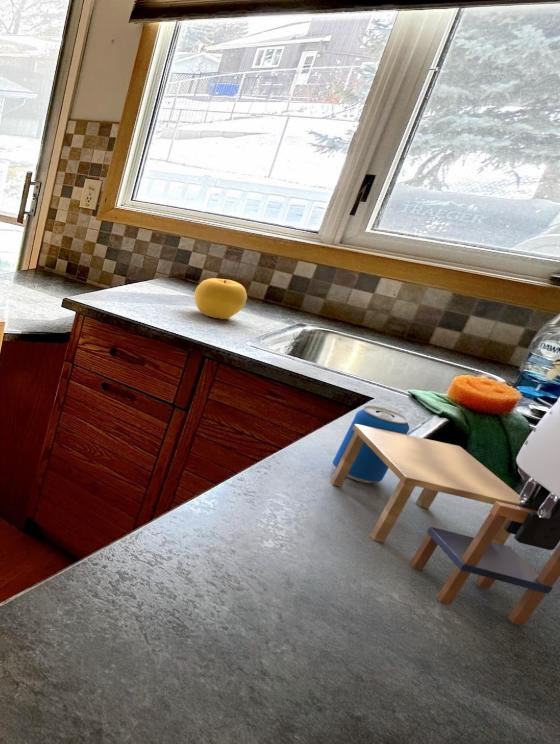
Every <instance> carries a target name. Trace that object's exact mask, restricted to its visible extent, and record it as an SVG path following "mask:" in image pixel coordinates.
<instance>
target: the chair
mask: <svg viewBox="0 0 560 744" xmlns="http://www.w3.org/2000/svg"><path fill="white" fill-rule="evenodd" d="M530 512H535V513H537V512H538V511H536V510H531V509H527V508H523V507H519V506H514V505H510V504H506V503H502V502H497V501H496V502H495V504H494V505H493V504H492V507H490V510H489V514H488V515H487V517H486V518H485V520H484V522H483V523H482V525H481V527H480V528H479V530H478V531H477V533H476V534H475V536H474V537H473V536H471V535H466V534H462V533H457V532H454V531H450V530H446V529H442V528H438V527H434V526H429V527H428V529H427V530H426V535H425V537H424V539H423V540H422V542H421V544H420V545H419V546H418V549H417V550H416V552H415V554H414V555H413V557H412V559H411V560H410V562H409V565H410V566H411V567H412V568H413V569H416V570H419V571H423V570H424V569H425V567H426V565H427V564H428V562H429V560H430V558H431V557H432V555H433V553H434V552H435V550H436V548H437V547H439V548H440V550H442V551H443V553H444V554H445V555H446V556H447V557H448V558H449V559H450V561H452V563H453V564H454V565H455V567H454V568H453V570H452V572H451V573H450V575H449V576H448V578H447V579H446V581H445V583H443V586H442V587H441V589H440V591H439V592H438V593H437V595H436V599H437V600H438V601H439V603H441V604H445V605H448V606H450V605H452V603H453V602H454V600H455V599H456V597H457V595H458V594H459V592H460V590H461V589H462V587H463V586H464V585H465V583H466V581H467V580H468V578H469V576H470V575H471V574H473V575H477V578H476V579H475V583H476V584H477V585H478V586H479V587H480V588H485V589H488V590H490V588H491V587H492V585H493V584H494V582H495V580H496V581H499V582H502V583H507V584H510V585H514V586H517V587H522V588H525V589H526V590H525V591H524V594H523V595H522V596H521V598H520V599H519V601H518V602H517V603H516V604H515V606H514V608H513V610H511V612H510V614H509V615H508V616H507V619H508V620H509V621H510V622H511V623H512V624H514V625H518V626H522V627H524V626H525V624H526V623H527V621H529V620H530V617H531V616H532V614H533V613H534V612H535V610H536V609H537V608H538V606H539V605H540V604H541V602H542V601H543V599H544V598H545V596H546V595H548V594H550V592H551V591H552V590H553V588H554V585H555V584H556V582H557V581H558V579H559V578H560V543H558V545H557V546H556V548H555V550H554V552H553V553H552V555H551V556H550V558H549V559H548V560H547V562H546V563H545V565H544V566H543V567H542V569H541V571H540V572H539V573H538V572H537V571H536V570H535V569H534V568H533V567H532V566H531V565H530V564H529V563H528V562H526V560H524V559H523V557H521V556H520V555H519V554H518V553H517V552H516V551H515V550H514V549H513V548H512V547H511V546H510V545H506V544H504V545H502V544H498V543H494V542H492V541H493V539H494V538H495V536H496V534H497V533H498V531H499V530H500V528H501V527H502V525H503V524H504V522H505V520H506V519H507V520H511V521H515V522H520V523H524V521H525V520H526V518H527V517H528V515H529V514H530Z"/></svg>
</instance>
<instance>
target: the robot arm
mask: <svg viewBox="0 0 560 744" xmlns="http://www.w3.org/2000/svg"><path fill="white" fill-rule="evenodd" d="M515 462H516V465H517V466H518V468H517V472H518V473H519V475H520V476H521V478H522V480H523V489H522V491H521V492H520V494H519V495H520V496H519V499H520V501H521V502H524V503H520V504H519V505H518V506H519V507H523V508H527V509H531V510H536V511H538V512H537V513H535V512H530V514H529V515H528V517H527V518H526V520H525V521H524V523H520V522H515V521H511V520H509V521H508V522H507V524H506V525H505V527H504V529H505V530H506V531H507V532H508V533H511V534H512V535H514V537H513V538H514V540H515V541H517V542H518V543H520V544H523V545H528V546H531V547H535V548H539V549H544V550H546V551H552V550H554V549H555V550H556V548H557V547H558V545H559V544H560V396H559V397H558V399H557V400H556V402H555V403H553V405H552V406H551V407H550V408H549V409H548V410H547V412H546V413H545V414H544V415H543V416H542V417H541V419H540V420H539V421H538V423H537V424H536V425H535V427H534V428H533V429H532V431H531V432H530V433H529V435H528V436H527V438H526V440H525V441H524V443H523V444H522V447H521V448H520V450H519V451H518V454H517V456H516V459H515ZM511 534H510V535H511Z"/></svg>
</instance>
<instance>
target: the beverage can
mask: <svg viewBox="0 0 560 744" xmlns="http://www.w3.org/2000/svg"><path fill="white" fill-rule="evenodd" d="M409 423H410V419H409V418H408V417H406V416H405V415H403V414H401V413H399V412H397V411H394V410H392V409H389V408H384V407H380V406H375V405H364V406H363V407H362V409H360V410H358V411H357V412H356V414H355V416H354V418H353V419H352V422H351V424H350V426H349V428H348V429H347V432H346V434H345V436H344V438H343V439H342V441H341V444H340V446H339V447H338V450H337V452H336V454H335V456H334V458H333V460H332V465H333V466H334V467H335V469H336V468H337V466H338V464H339V462H340V460H341V458H342V456H343V454H344V452H345V450H346V448H347V446H348V444H349V442H350V440H351V438H352V436H353V434H354V432H355V431H354V430H353V429H352V428H353V426H354V424H358V425H363V426H368V427H372V428H377V429H382V430H386V431H391V432H396V433H400V434H405V435H408V433H409V432H410V425H409ZM389 469H390V468H389V467H388V466H387V465H386V464H385V463H384V462H383V461H382V460H381V459H380V458H379V457H378V456H377V455H376V453H375V452H374V451H373V450H372V449H371V448H370V447H369V446H368V445H367V444H366V443H365V442H364V443H363V445H362V447H361V449H360V451H359V453H358V455H357V457H356V459H355V461H354V463H353V465H352V467H351V469H350V471H349V473H348V475H347V476H346V478H349V479H351V480H353V481H357V482H361V483H364V484H365V483H366V484H374V483H379V482H380V483H381V482H382V481H383V479H384V478H385V476H386V474H387V472H388V471H389Z"/></svg>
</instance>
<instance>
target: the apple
mask: <svg viewBox="0 0 560 744" xmlns="http://www.w3.org/2000/svg"><path fill="white" fill-rule="evenodd" d="M247 299H248V294H247V290H246V288H245V286H243V285H242V284H241V283H239V282H237V281H234V280H231V279H224V278H216V277H215V278H214V277H212V278H207V279H204V280H202V281H201V282H200V283H199V284H198V285H197V287H196V288H195V291H194V302H195V305H196V308H197V310H198V311H199V312H200V313H201V314H203V315H204V316H206V315H207V316H206V317H208V316H211V317H214V318H220V319H219V320H228V319H230V318H232V317H233V316H235V315H236V314H237V313H239V312H240V311H241V310H242V309H243V308H244V306H245V305H246V302H247ZM214 318H213V319H214Z"/></svg>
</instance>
